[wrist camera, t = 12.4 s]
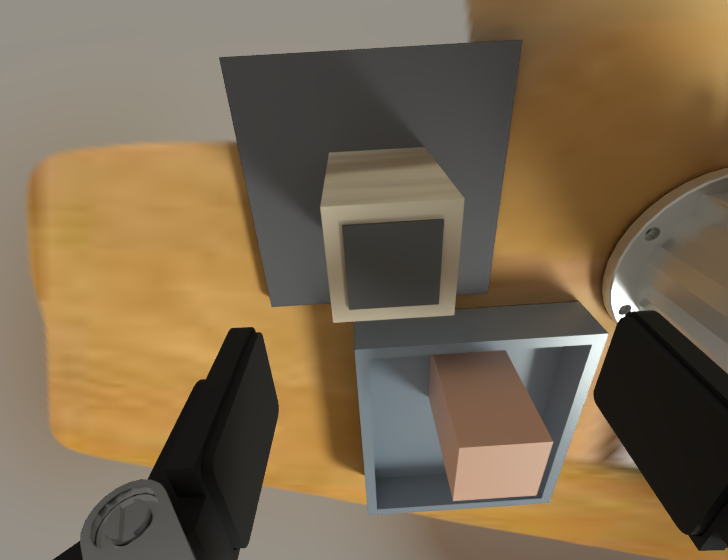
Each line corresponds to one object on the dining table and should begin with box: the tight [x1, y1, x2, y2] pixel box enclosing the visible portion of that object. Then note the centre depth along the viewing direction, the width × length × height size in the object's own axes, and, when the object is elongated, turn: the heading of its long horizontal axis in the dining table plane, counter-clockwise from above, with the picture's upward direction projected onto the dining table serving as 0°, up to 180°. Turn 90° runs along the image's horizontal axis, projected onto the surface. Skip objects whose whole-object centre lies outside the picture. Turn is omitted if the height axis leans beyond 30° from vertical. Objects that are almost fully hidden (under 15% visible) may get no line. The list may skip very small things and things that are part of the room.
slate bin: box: [354, 301, 609, 515], centre depth 30 cm, size 19×16×4 cm
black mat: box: [219, 40, 522, 307], centre depth 22 cm, size 14×14×1 cm
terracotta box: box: [429, 350, 553, 501], centre depth 25 cm, size 5×5×8 cm
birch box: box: [320, 147, 465, 323], centre depth 18 cm, size 5×5×8 cm
